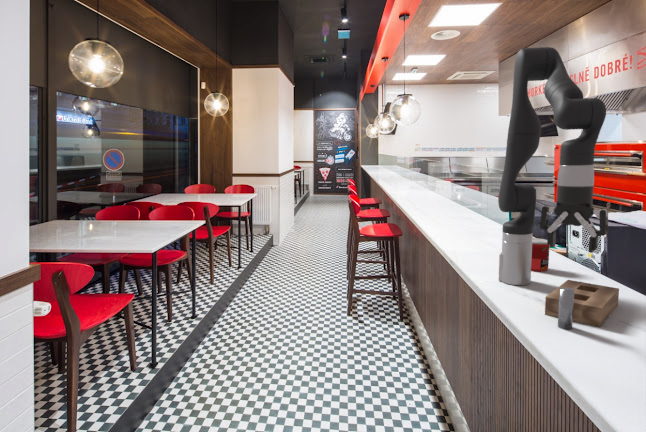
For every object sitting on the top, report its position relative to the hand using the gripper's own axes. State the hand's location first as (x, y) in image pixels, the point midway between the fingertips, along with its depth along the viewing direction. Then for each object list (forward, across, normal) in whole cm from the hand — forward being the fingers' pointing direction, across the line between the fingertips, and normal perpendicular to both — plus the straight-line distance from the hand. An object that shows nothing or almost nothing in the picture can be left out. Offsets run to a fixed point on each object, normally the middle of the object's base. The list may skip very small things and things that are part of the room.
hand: (571, 249), depth 104 cm
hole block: (+20, 0, +15) cm, 25 cm away
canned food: (+20, -23, +50) cm, 58 cm away
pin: (+20, 0, 0) cm, 20 cm away
